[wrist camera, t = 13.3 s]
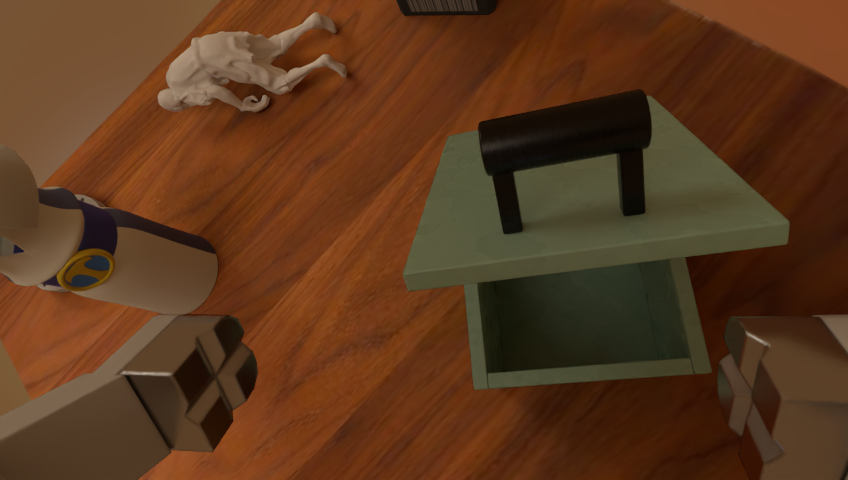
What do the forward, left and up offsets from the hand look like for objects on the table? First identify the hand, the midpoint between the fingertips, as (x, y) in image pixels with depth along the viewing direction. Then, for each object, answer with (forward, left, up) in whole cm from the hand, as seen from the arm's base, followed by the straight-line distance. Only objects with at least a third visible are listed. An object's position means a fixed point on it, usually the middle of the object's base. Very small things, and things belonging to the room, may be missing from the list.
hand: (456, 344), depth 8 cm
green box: (+4, -6, -29) cm, 29 cm away
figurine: (+38, +1, -29) cm, 47 cm away
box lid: (+5, -7, -13) cm, 16 cm away
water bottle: (+28, +18, -29) cm, 44 cm away
